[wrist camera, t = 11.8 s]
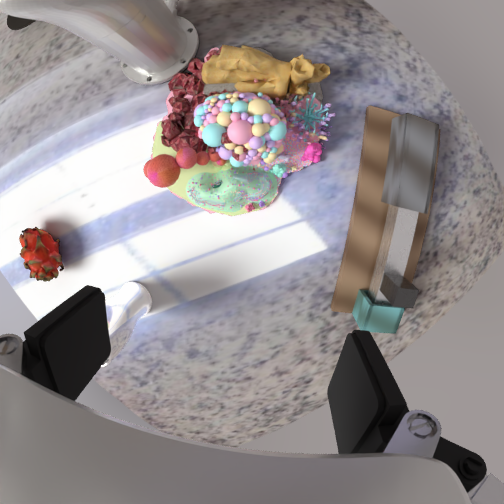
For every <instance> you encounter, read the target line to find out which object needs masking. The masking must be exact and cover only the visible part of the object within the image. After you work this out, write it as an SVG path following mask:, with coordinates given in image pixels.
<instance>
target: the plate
mask: <svg viewBox="0 0 504 504" xmlns="http://www.w3.org/2000/svg"><path fill="white" fill-rule="evenodd" d="M34 21H36V20H32V19H25V18H19V17H14V16H10V15H8V18H7V25H8V27H9V28H10V29H12V30H19V29H22V28H24V27H26V26H28V25H30V24H31V23H33V22H34Z"/></svg>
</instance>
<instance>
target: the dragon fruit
mask: <svg viewBox="0 0 504 504" xmlns="http://www.w3.org/2000/svg"><path fill="white" fill-rule="evenodd" d="M22 232H23V235H22V234H21V235H20V238H19V240H20V243H21V245H22V247H23V248H22V250H21V253H20V255H21V257H22V258H23V259H25V262H24V266H25V268H26V269H30V270H31V272H30V278H35V277H36V279H37V281H39V280H43V281H45V282H46V281H50V280H51V279H53V277H55V278H57V276H58V274H59V272H58V270H57V268H58V267H59V266H60V267H61V269H60V270H59V271H62V270H63V269H64V266H63V263H62V259H61V257H62V256H61V255H60V254H59V242H60V240H59V239H56V242H55V241H54V240H53V238H52V237H51V235H50V234H49V233H47V232H45V231H44V230H41V229H38V228H37V227H35V228H33V229H31V228H27V229H25V230H23V231H22Z"/></svg>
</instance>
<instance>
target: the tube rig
mask: <svg viewBox="0 0 504 504" xmlns="http://www.w3.org/2000/svg"><path fill="white" fill-rule="evenodd" d="M439 142H440V129H439V125H438V124H436V123H433V122H431V121H428V120H426V119H423V118H420V117H418V116H415V115H412V114H409V113H406V114H403V115H399V114H396V113H393V112H390V111H387V110H384V109H380V108H377V107H374V106H368V107H367V108H366V117H365V127H364V136H363V144H362V152H361V159H360V166H359V173H358V180H357V186H356V192H355V198H354V204H353V209H352V215H351V220H350V225H349V230H348V235H347V240H346V244H345V249H344V254H343V258H342V263H341V267H340V271H339V275H338V279H337V284H336V288H335V292H334V295H333V299H332V303H331V309H332V311H336V312H345V313H352V314H353V316H354V318H355V320H356V322H357V324H358V326H359V328H360V330H365V331H369V332H379V333H396V331H397V329H398V326H399V323H400V321H401V318H402V315H403V312H404V310H405V308H404V307H393V306H391V305H381V304H372V302H371V301H370V299H369V298H368V297H367V294H368V291H369V287H370V284H371V280H372V277H373V273H374V269H375V265H376V261H377V257H378V253H379V249H380V245H381V240H382V236H383V231H384V227H385V222H386V217H387V212H388V207H389V204H390V205H393V206H396V207H401V208H405V209H409V210H413V211H417V212H419V214H418V219H417V224H416V228H415V233H414V237H413V241H412V246H411V250H410V254H409V257H408V261H407V265H406V268H405V272H404V277H405V278H406V279H407V280H408V281H409V282H410V283H412V281H413V278H414V274H415V271H416V267H417V264H418V260H419V256H420V253H421V249H422V245H423V240H424V236H425V232H426V227H427V223H428V218H429V213H430V208H431V202H432V197H433V191H434V184H435V177H436V170H437V162H438V153H439Z"/></svg>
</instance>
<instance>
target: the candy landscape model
mask: <svg viewBox="0 0 504 504" xmlns="http://www.w3.org/2000/svg"><path fill="white" fill-rule="evenodd" d="M204 60H205V61H204V63H203V62H202V61H201V60H200V59H198V58H193V59H192V60H191V62H190V63H189V66H188V69H187V70H189V71H190V72H192V73H193V74H192V75H191V74H190V73H178V74H177V75H176V76H175V77H174V78H173V79H172V80H171V81H170V82H169V84H168V85H169V89H170V91H171V93H170V94H169V96H168V98H167V99H166V104H167V108H168V115H166V116H165V117H164V118H163V120H162V121H160V122H159V123H158V124H157V130H156V133H155V135H154V136H153V140H154V144H153V148H152V155H151V160H149V161H148V162H147V163H146V164H145V166H144V174H145V176H146V177H147V178H148V179H149V180H150V182H151V183H152V184H153V185H155V186H158V187H167V188H168V189H169V190H170V192H171V193H173V194H174V195H176V196H178V197H179V198H183V199H185V200H187V202H188V203H190V204H191V205H192V206H198V207H200V208H202V209H204V210H205V211H208V212H209V213H215V212H217V213H221V214H226V215H229V216H235V215H240V214H244V213H249V212H253V211H257V210H262V209H265V208H266V206H267V205H268V204H271V203H272V202H273V200H274V199H275V197H276V195H277V194H278V187H279V186H280V184H281V179H282V178H286V177H287V176H288V173H290V172H295V171H299V170H301V169H303V167H304V166H310V164H311V163H312V161H313V162H314V163H318V162H319V161H320V155H321V154H322V150H321V148H325V147H322V146H321V144H322V145H323V143H321V142H320V144H319V143H318V142H319V140H320V139H323V141H324V140H326V141H328V139H327V137H326V136H330V135H327V133H330V132H329V131H327V133H326V132H324V131H320V130H321V129H322V128H323V127H322V126H323V125H325V126H328V124H326V121H330V119H331V117H334V116H336V115H335V113H331V114H329V113H328V112H327V114H326V117H324V116H325V115H324V116H323V117H322V115H323V113H324V112H326V111H327V110H329V108H327V107H331V104H329V103H326V105H325V106H323V107H324V109H322V104H321V102H322V99H323V94H322V90H321V86H320V83H319V82H320V81H322V80H323V79H324V78H327V76H328V75H329V74H330V68H329V67H328V66H327V65H326V64H312V62H311V60H309V59H304V56H303V54H302V55H300V56H298V57H296V58H294V59H292V60H291V61H290V62H284V61H280V60H277V59H276V58H274V57H273V56H272V54H271V53H270V52H268V51H266V50H264V49H261V48H260V47H254V48H251V47H248V46H245V45H243V46H242V47H240V48H238V47H233V46H228V45H222V47H221V48H220V49H219V48H213V49H211V50H210V51H209V52H208V54H207V55H206V56H205V58H204ZM328 114H329V115H328ZM330 127H331V128H332V126H330ZM330 127H328V128H330ZM325 129H326V128H323V130H325ZM322 135H326V136H322Z"/></svg>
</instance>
